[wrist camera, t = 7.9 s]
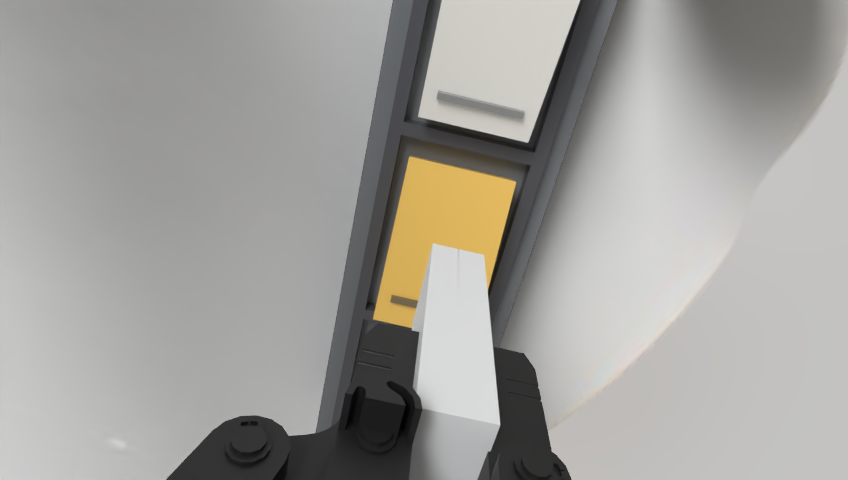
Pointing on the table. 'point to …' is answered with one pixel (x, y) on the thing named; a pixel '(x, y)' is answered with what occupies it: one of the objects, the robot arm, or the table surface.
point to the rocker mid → (439, 228)
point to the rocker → (494, 63)
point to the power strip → (414, 136)
